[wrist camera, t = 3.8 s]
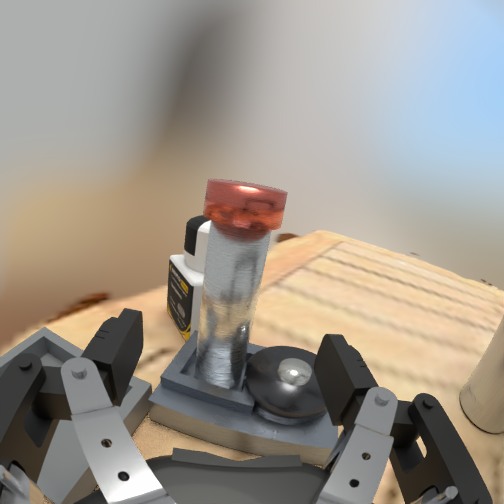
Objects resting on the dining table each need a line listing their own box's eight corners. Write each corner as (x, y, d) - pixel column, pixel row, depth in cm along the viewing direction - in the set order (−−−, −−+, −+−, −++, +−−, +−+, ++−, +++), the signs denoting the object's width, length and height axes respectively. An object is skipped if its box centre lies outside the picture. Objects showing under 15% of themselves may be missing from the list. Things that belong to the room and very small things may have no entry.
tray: (153, 404, 18) (151, 383, 17) (74, 517, 6) (58, 506, 6) (50, 347, 20) (44, 326, 19) (-31, 413, 8) (-45, 391, 7)
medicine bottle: (166, 310, 31) (172, 210, 28) (218, 303, 35) (232, 212, 32) (187, 346, 26) (198, 229, 22) (247, 334, 30) (268, 229, 26)
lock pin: (253, 363, 22) (290, 190, 17) (239, 401, 17) (283, 195, 13) (200, 348, 22) (222, 178, 18) (179, 382, 18) (195, 179, 14)
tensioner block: (326, 380, 24) (343, 341, 22) (324, 465, 14) (352, 429, 13) (197, 349, 26) (201, 307, 24) (150, 419, 16) (145, 376, 15)
